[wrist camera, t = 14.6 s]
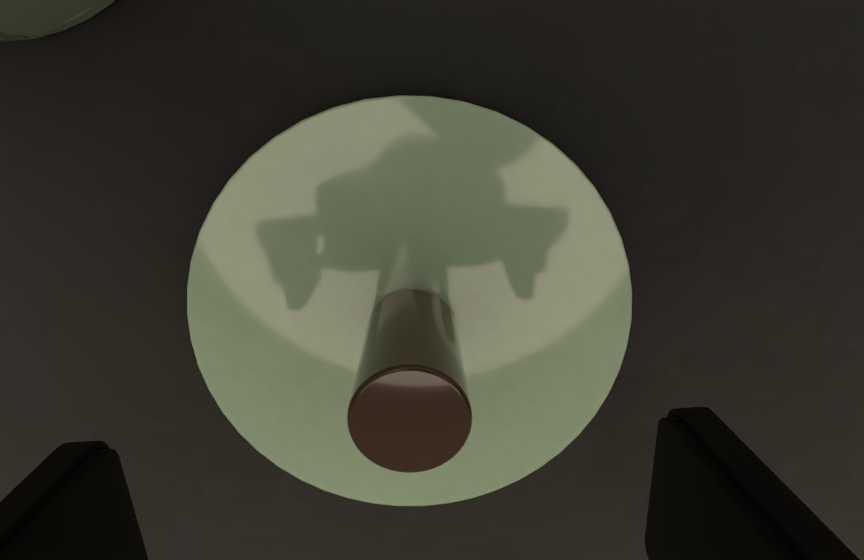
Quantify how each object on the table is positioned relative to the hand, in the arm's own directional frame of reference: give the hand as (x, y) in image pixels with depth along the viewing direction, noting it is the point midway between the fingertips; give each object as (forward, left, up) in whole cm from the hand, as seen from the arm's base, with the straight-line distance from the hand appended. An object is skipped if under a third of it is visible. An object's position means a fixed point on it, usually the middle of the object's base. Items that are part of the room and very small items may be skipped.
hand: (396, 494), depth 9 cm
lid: (0, 0, -7) cm, 7 cm away
